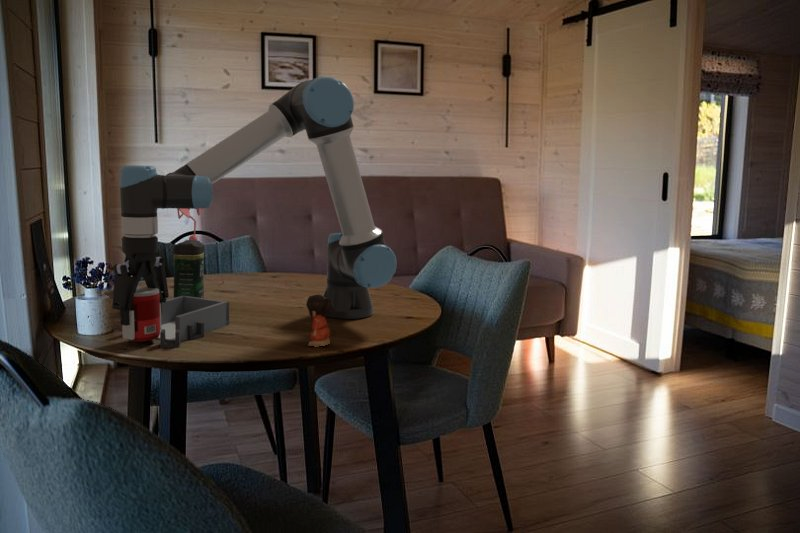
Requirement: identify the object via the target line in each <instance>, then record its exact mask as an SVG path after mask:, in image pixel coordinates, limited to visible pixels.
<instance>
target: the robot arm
mask: <svg viewBox="0 0 800 533" xmlns="http://www.w3.org/2000/svg"><path fill="white" fill-rule="evenodd" d="M354 106H355V104H354V97H353V94H352V92H351V90H350V88H349V87H348V86H347V85H346V84H345V83H344V82H342V81H341V80H340V79H337V78H334V77H330V76H319V77H316V78H313V79H309V80H304V81H301V82H300V83H298V84H295V85H294V87H292V88H291V89H289V90H288V91H287V92H286V93H285V94H284V95H282V96H281V97H279V98H277V100H275V101H274V102H272V103H270V104H269V105H268V110H267V111H266V112H264V113H263V114H262V115H259V116H258V117H257V118H255V119H254V120H252V121H250V122H249V123H247V124H246V125H244V126H243V127H241V128H240V129H238V130H237V131H234V133H232V134H231V135H229V136H227V137H226V138H224V139H223V140H221V141H220V142H218V143H216V144H215V145H214V146H212V147H210V148H208V149H207V150H205V151H203V152H202V153H201V154H199V155H197V156H196V157H195V158H192V159H191V160H190V161H188V162H187V163H186V164H184V165H182V166H181V167H179V168H178V169H176V170H175V171H172V172H168V173H167V174H165V175H164V174H158V172H157V168H156V166H153V165H139V164H138V165H136V164H135V165H132V164H131V165H130V164H129V165H127V164H126V165H123V166H122V167H121V169H120V175H119V176H120V177H119V178H120V179H119V180H120V181H119V194H120V195H119V196H120V215H121V216H120V217H121V234H122V235H123V236H122V238H121V248H122V249H121V251H122V253H123V254H124V256H125V257H124V262H122V263H115V264H114V265H113V270H114V284H113V292H112V293H113V295H112V304H111V307H112V309H113V310H117V311H119V313H120V314H119V315H120V316H119V317H120V325H121V326H122V328H121V330H122V339H125V340H127V339H130V340H133V339H135V329H134V311H133V310H131V307H132V303H133V300H134V293H135V292H136V289H137V287H138V286H139V285H138V284H139V283H140V282H141V280H142V278H143V280H144V282H145V284H146V287H147V288H157V289H159V296H160V330H161V315H162V302H163V303H165V302H166V300H167V299H168V298H169V287H168V281H167V274H166V269H165V266H166V258H165V257H161V256H156V253H158V251H159V237H157V234H158V233H159V224H158V223H159V222H158V209H162V210H163V209H176V210H177V209H190V210H191V209H192V210H193V209H194V210H197V209H201V208H203V209H209V208H210V207H211V206H212V204H213V200H214V198H213V196H214V189H213V184H215V183H216V182H218V181H219V180H221V179H222V178H224V177H225V176H227V175H228V174H230V173H232V172H233V171H234V170H236V169H237V168H239V167H240V166H242V165H244V164H245V163H246V162H248V161H250V160H252V159H253V158H254V157H256V156H257V155H259V154H261V153H262V152H264V151H265V150H266V149H269V147H271V146H273V145H274V144H276V143H278V142H279V141H280V140H282V139H283V138H285V137H287V138H292V137H293V136H296V135H297V134H298V133H300V132H303V131H305V132H306V135H307V139H308V141H309V142H312V143H313V144H315V145H316V148H317V152H318V155H319V159H320V161H321V164H322V169H323V172H324V175H325V178H326V182H327V185H328V189H329V193H330V196H331V199H332V202H333V206H334V210H335V212H336V217H337V219H338V224H339V226H340V231H341V232H334V233H330V234H329V235H328V237H327V244H326V248H327V249H326V264H327V265H326V287H325V288H324V289H325V290H324V293H323V295H322V296H324V297H326V298H331V300H332V304H333V305H334V310H333V311H332V313H331V314H329V315H325V316H324V317H328V318H334V319H346V320H347V319H349V320H350V319H354V320H355V319H362V318H368V317H370V316H373V314H374V304H373V300H372V296H371V294H370V289H378V288H380V287H383V286H385V285H387V284H388V283H389V282H390V281H391V280H392V279H393V276H394V275H395V273H396V271H397V265H398V264H397V263H398V262H397V256H396V254H395V253H394V251H393V250H392V249H391V247H390V246H387V243H386V240H385V237H384V233H383V230H382V229H381V228H379V227H377V226H376V225H375V223H374V219H373V215H372V211H371V208H370V204H369V201H368V200H369V199H368V197H367V192H366V190H365V186H364V182H363V179H362V176H361V171H360V168H359V164H358V161H357V156H356V154H355V150H354V146H353V142H352V139H351V134H352V132H353V130H354V128H355V127H354V126H355V125H354V123H353V119H352V114H353V112H354ZM125 304H126V305H125Z"/></svg>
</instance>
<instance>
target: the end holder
mask: <svg viewBox="0 0 800 533" xmlns="http://www.w3.org/2000/svg"><path fill="white" fill-rule="evenodd" d="M197 322H202V323H204V334H206V333H209V332H212V331H215V330H218V329H220V328H222V327H226V326H229V325H230V301H227V300H220V299H219V300H218V299H210V298H206V297H204V298H198V297H190V296H179V297H176V298H174V297H172V298H169V299H168V298H167V299H166V302H165V303H163V302H162V315H161V330H162V329H165V340H175V332H176V329H180V343H181V342H182V343H183V342H185V341H187V340H188V325H193V334H195V333H197ZM161 330H160V332H161ZM156 339H157V340H158V339H159V340H160V335H159V337H158V338H156ZM188 341H189V340H188Z"/></svg>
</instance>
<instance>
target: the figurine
mask: <svg viewBox="0 0 800 533" xmlns="http://www.w3.org/2000/svg"><path fill="white" fill-rule="evenodd" d="M305 305H306V308H307V311H308V316H309V318H311V319H312V325H311V329H312V330H311V331H310V332H309V337H310V339H311V340H310V341H309V342H308V344H307V345H309V346H314V347H313V348H320V347H319V346H324V347H326V346H325V345H327V346H329V345H331V344H330V343H331V339H330V336H331V331H330V328H329V326H328V321H327V319H326V316H325V315H329V314H331V313H332V311H333V310H334V305H333V304H332V300H331V298H326V297H324V296H323V295H322V294H313V295H310V296H309V297H308V298H307V300H306V304H305ZM328 344H329V345H328ZM309 346H308V347H309Z"/></svg>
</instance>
